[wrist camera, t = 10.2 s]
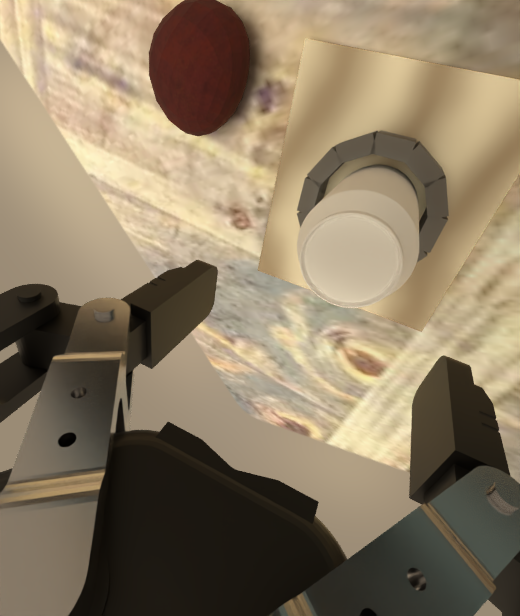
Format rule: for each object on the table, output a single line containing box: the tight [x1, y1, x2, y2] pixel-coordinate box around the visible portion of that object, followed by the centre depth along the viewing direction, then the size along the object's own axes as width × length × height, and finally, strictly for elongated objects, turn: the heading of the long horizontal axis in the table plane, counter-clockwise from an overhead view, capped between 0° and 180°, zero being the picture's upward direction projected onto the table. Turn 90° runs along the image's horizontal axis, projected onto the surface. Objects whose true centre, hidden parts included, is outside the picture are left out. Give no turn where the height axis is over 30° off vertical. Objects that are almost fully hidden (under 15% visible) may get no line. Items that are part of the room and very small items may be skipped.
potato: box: [149, 0, 250, 136], centre depth 24 cm, size 7×8×6 cm
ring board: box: [258, 38, 520, 332], centre depth 24 cm, size 16×18×4 cm
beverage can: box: [297, 165, 419, 308], centre depth 20 cm, size 6×6×12 cm
